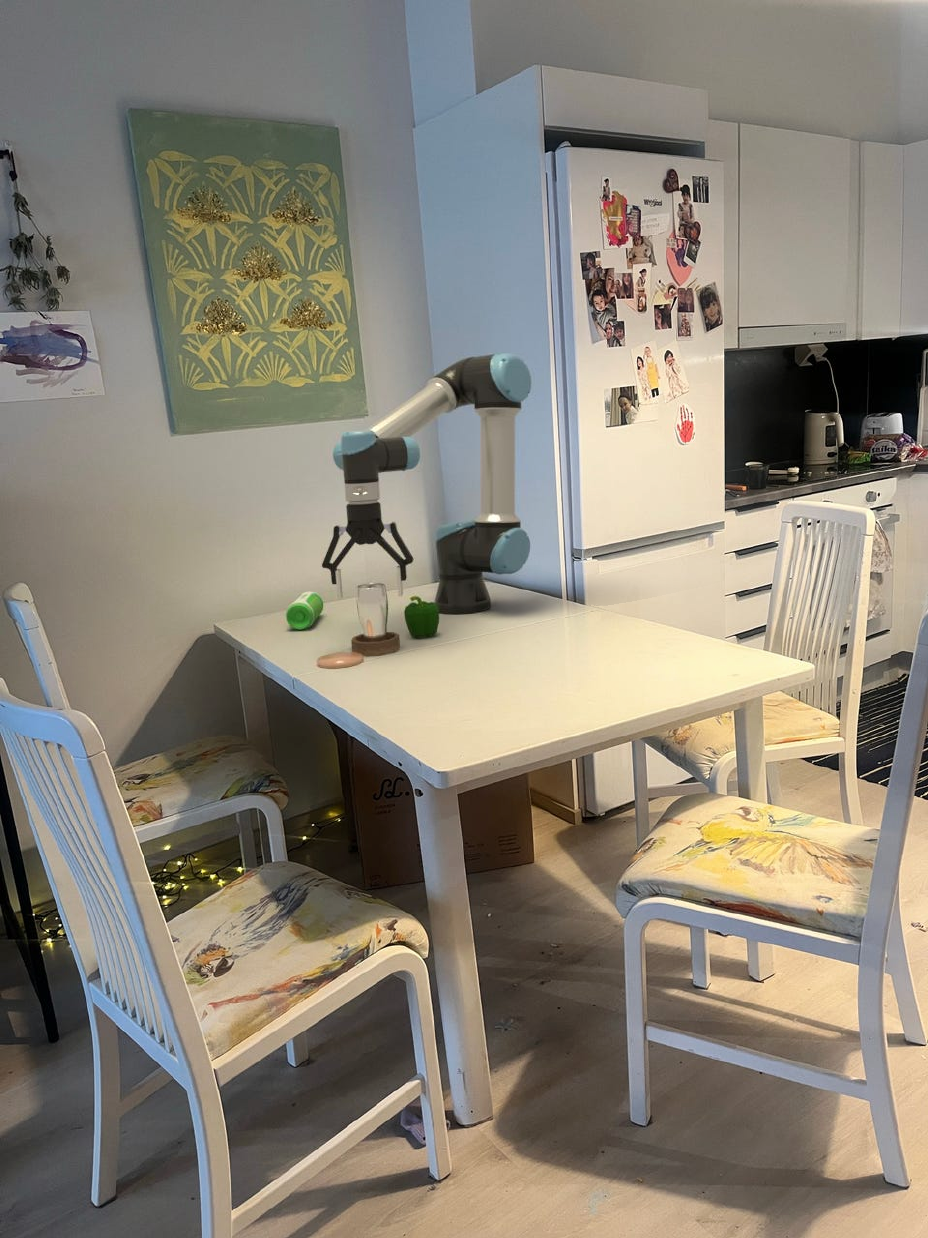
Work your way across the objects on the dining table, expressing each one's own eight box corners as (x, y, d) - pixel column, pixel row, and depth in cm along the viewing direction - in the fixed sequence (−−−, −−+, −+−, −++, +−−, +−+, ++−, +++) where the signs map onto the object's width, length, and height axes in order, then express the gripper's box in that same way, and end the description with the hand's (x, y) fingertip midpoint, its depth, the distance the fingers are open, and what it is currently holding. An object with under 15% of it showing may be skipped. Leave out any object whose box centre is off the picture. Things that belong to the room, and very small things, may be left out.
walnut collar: (401, 642, 223) (400, 630, 222) (397, 654, 212) (396, 641, 212) (356, 645, 223) (355, 633, 223) (350, 657, 213) (348, 644, 212)
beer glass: (398, 648, 218) (392, 583, 215) (375, 655, 213) (369, 589, 210) (377, 644, 223) (372, 581, 219) (354, 651, 218) (348, 586, 214)
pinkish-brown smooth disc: (365, 655, 214) (365, 650, 214) (360, 667, 204) (359, 662, 204) (321, 657, 214) (320, 653, 214) (313, 669, 205) (313, 665, 204)
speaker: (314, 631, 242) (311, 602, 240) (286, 632, 242) (282, 603, 241) (325, 616, 259) (323, 588, 258) (299, 617, 260) (296, 590, 258)
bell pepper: (435, 630, 233) (432, 590, 231) (444, 637, 226) (441, 595, 223) (401, 634, 231) (398, 594, 229) (410, 642, 223) (407, 600, 221)
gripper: (303, 506, 207) (312, 602, 212) (418, 500, 206) (424, 597, 211) (309, 503, 215) (318, 596, 219) (420, 497, 214) (426, 590, 218)
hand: (370, 597), depth 215 cm, fingers open, 13 cm apart
